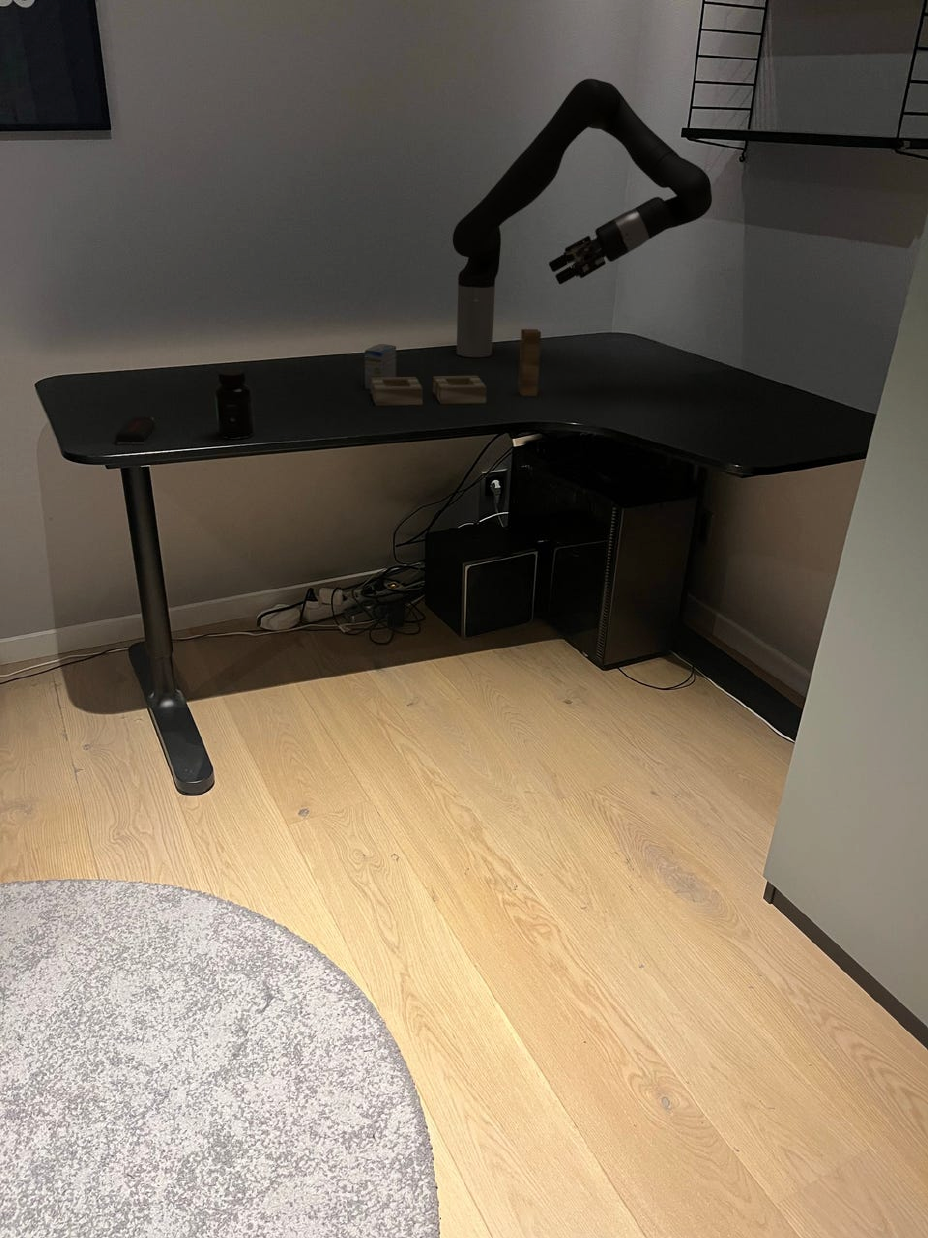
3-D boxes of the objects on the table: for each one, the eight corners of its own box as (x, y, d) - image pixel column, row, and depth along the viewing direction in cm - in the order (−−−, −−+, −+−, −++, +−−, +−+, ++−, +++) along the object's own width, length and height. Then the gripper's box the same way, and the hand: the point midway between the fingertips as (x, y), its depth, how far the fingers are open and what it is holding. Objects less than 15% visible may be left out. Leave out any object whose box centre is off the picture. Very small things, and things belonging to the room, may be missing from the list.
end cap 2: (433, 391, 219) (433, 376, 218) (476, 390, 221) (477, 375, 219) (440, 404, 211) (441, 388, 209) (486, 402, 212) (486, 386, 211)
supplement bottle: (213, 438, 185) (207, 375, 179) (225, 428, 191) (220, 366, 185) (247, 441, 184) (242, 377, 179) (259, 430, 190) (255, 368, 185)
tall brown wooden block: (518, 392, 221) (521, 329, 215) (532, 391, 222) (536, 328, 215) (521, 396, 218) (525, 332, 212) (536, 395, 219) (541, 332, 212)
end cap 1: (371, 393, 217) (370, 377, 215) (415, 392, 218) (415, 376, 217) (376, 405, 208) (376, 389, 206) (422, 404, 210) (422, 388, 208)
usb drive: (116, 446, 181) (114, 431, 179) (132, 427, 191) (130, 413, 190) (145, 446, 181) (143, 432, 180) (159, 427, 191) (157, 413, 190)
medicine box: (379, 380, 227) (378, 343, 223) (396, 383, 226) (396, 345, 221) (364, 388, 220) (364, 350, 216) (382, 391, 219) (382, 352, 215)
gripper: (608, 210, 210) (541, 248, 214) (622, 227, 199) (551, 268, 202) (621, 241, 214) (555, 278, 218) (636, 260, 203) (566, 299, 206)
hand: (553, 273), depth 210 cm, fingers open, 8 cm apart
